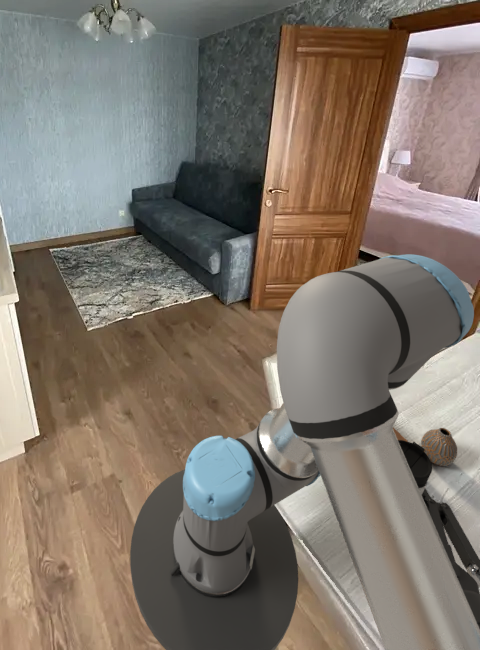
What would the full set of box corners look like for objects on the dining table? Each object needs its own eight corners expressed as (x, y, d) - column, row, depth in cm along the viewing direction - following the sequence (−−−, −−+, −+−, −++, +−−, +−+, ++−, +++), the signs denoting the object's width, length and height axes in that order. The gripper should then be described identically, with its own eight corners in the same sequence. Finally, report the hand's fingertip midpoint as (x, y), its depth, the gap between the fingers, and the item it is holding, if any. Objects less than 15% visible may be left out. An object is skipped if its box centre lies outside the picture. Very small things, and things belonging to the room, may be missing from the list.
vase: (440, 475, 81) (452, 449, 77) (411, 450, 86) (421, 425, 83) (458, 464, 83) (470, 438, 80) (429, 440, 89) (439, 415, 86)
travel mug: (407, 535, 62) (441, 459, 55) (388, 560, 59) (422, 482, 51) (372, 504, 67) (400, 430, 59) (353, 525, 63) (380, 450, 56)
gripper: (388, 654, 44) (323, 473, 65) (544, 664, 43) (427, 478, 64) (403, 624, 41) (331, 445, 62) (571, 635, 40) (439, 450, 62)
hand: (380, 462), depth 63 cm, fingers closed on travel mug, 6 cm apart
